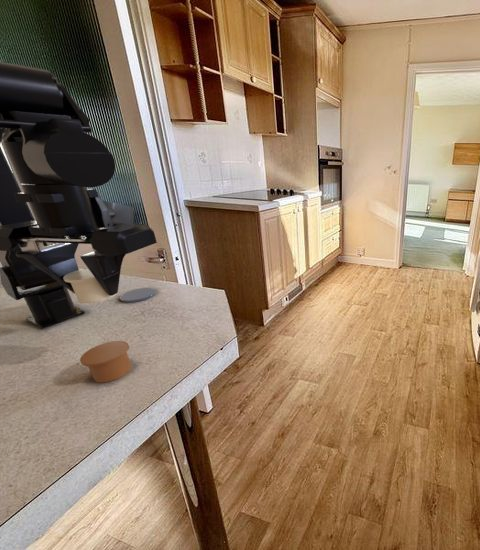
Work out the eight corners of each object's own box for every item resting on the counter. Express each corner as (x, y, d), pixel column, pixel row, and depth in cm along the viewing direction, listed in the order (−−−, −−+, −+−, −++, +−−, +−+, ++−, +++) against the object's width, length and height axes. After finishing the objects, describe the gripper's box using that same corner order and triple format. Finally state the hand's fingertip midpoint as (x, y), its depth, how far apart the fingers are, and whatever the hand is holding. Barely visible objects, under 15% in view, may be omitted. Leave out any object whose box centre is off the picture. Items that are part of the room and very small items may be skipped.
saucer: (114, 298, 64) (113, 296, 64) (144, 287, 70) (143, 285, 70) (131, 305, 62) (130, 302, 62) (161, 293, 67) (160, 291, 67)
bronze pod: (81, 378, 42) (71, 357, 41) (122, 356, 47) (115, 337, 45) (102, 390, 40) (92, 368, 39) (143, 366, 45) (136, 346, 43)
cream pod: (65, 300, 41) (54, 276, 40) (109, 286, 46) (100, 263, 44) (86, 308, 39) (75, 282, 38) (129, 292, 44) (121, 269, 42)
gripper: (169, 179, 43) (192, 275, 49) (53, 177, 44) (89, 271, 50) (101, 186, 33) (140, 306, 39) (-48, 183, 34) (12, 300, 40)
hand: (96, 293), depth 42 cm, fingers closed on cream pod, 5 cm apart
